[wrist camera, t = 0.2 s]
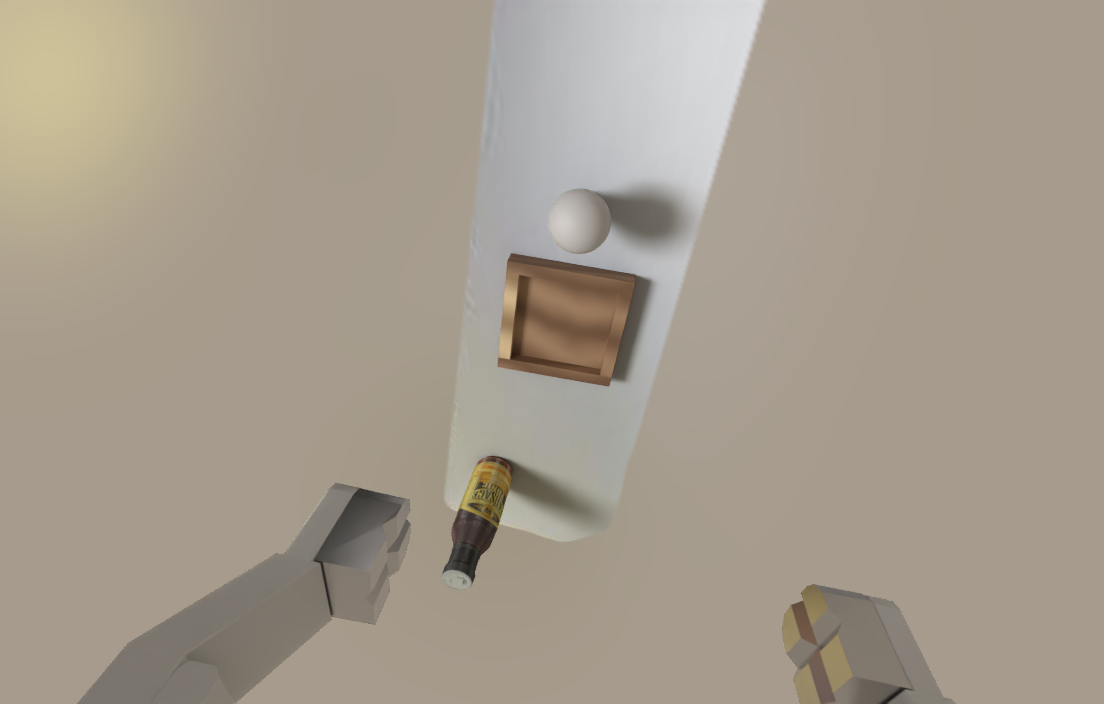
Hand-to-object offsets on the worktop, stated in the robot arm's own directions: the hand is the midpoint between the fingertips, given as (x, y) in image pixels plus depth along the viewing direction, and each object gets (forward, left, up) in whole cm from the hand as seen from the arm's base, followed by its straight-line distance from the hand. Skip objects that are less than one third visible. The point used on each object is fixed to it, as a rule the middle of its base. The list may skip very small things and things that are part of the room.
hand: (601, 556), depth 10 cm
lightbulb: (+5, -2, -48) cm, 48 cm away
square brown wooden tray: (+20, -2, -48) cm, 52 cm away
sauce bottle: (+49, -9, -48) cm, 69 cm away
